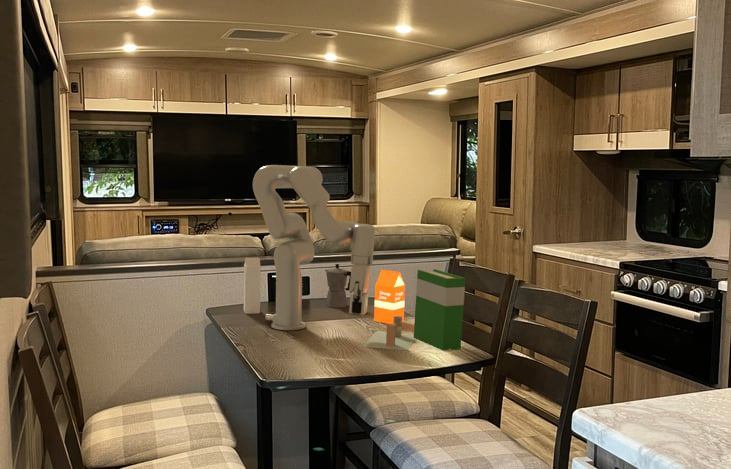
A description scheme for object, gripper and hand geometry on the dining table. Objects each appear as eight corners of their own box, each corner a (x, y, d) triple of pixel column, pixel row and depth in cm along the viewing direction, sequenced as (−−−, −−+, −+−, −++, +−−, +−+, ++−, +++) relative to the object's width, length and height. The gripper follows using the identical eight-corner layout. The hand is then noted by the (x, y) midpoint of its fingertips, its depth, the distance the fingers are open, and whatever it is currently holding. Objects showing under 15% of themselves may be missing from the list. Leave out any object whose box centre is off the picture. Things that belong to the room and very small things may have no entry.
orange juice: (392, 325, 257) (394, 273, 255) (373, 321, 262) (375, 270, 260) (404, 322, 263) (405, 271, 261) (385, 318, 268) (387, 268, 266)
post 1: (386, 345, 226) (386, 325, 225) (387, 343, 228) (388, 323, 228) (393, 346, 225) (394, 325, 225) (395, 344, 228) (395, 324, 227)
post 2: (392, 336, 239) (393, 316, 238) (394, 334, 241) (394, 315, 240) (400, 337, 238) (400, 317, 237) (401, 335, 241) (402, 315, 240)
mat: (362, 347, 224) (362, 346, 224) (376, 332, 246) (376, 331, 246) (407, 351, 221) (407, 350, 221) (417, 335, 243) (417, 334, 243)
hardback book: (413, 337, 238) (417, 269, 235) (431, 335, 241) (435, 269, 239) (442, 351, 223) (447, 278, 220) (460, 349, 226) (465, 278, 223)
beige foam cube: (349, 313, 234) (350, 294, 233) (352, 309, 239) (353, 291, 238) (363, 314, 233) (365, 296, 232) (367, 311, 238) (368, 293, 237)
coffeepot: (317, 304, 290) (318, 263, 289) (332, 301, 298) (333, 261, 296) (344, 310, 281) (346, 267, 279) (359, 307, 288) (360, 265, 286)
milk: (260, 313, 271) (261, 258, 269) (244, 313, 270) (245, 259, 267) (258, 310, 277) (259, 256, 275) (243, 310, 275) (244, 256, 273)
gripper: (356, 255, 243) (353, 305, 245) (345, 262, 226) (341, 315, 228) (377, 257, 241) (373, 307, 243) (367, 264, 224) (363, 318, 227)
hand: (358, 310), depth 236 cm, fingers closed on beige foam cube, 5 cm apart
